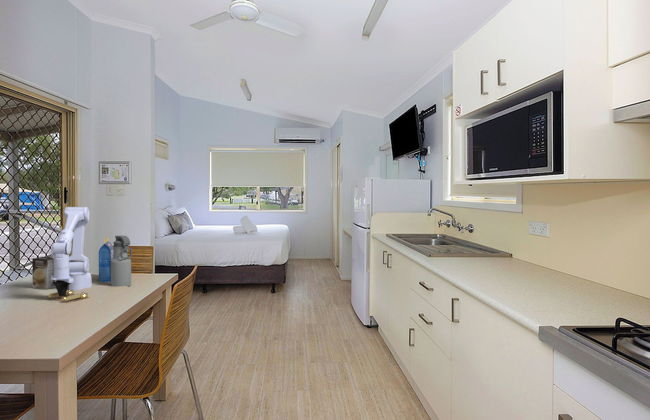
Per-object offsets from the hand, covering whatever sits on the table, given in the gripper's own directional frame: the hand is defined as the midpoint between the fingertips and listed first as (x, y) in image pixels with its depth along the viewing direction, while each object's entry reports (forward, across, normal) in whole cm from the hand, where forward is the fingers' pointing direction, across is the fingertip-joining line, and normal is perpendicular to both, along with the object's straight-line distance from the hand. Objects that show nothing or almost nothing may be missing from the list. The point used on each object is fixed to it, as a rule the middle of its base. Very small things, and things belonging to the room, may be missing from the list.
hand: (62, 296), depth 164 cm
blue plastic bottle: (+3, -22, +36) cm, 43 cm away
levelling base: (+2, +2, +2) cm, 4 cm away
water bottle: (+3, 0, +30) cm, 30 cm away
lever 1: (+1, -4, +2) cm, 4 cm away
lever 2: (+1, +7, +1) cm, 8 cm away
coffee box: (+3, -35, +10) cm, 36 cm away
